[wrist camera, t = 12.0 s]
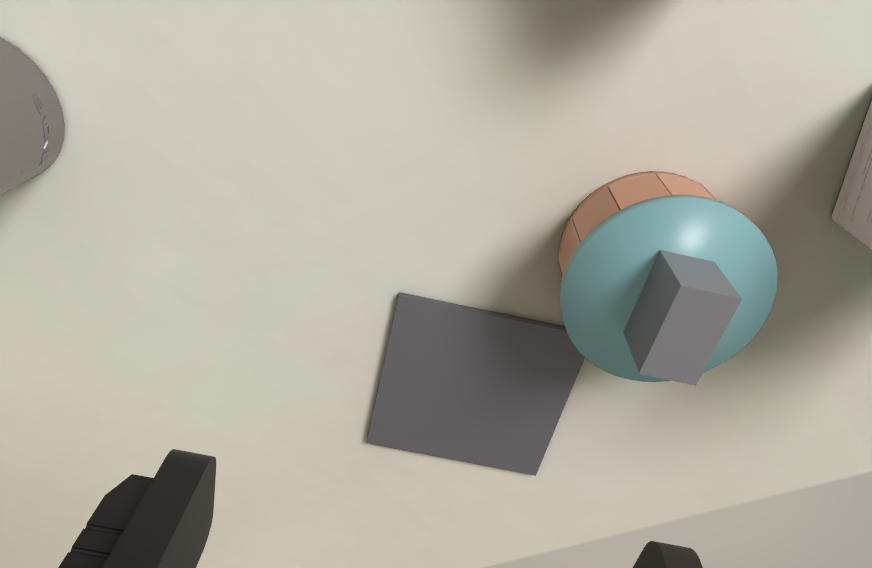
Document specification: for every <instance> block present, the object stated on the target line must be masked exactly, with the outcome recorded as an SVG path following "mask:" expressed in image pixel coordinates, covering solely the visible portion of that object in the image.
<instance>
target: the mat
mask: <svg viewBox="0 0 872 568" xmlns="http://www.w3.org/2000/svg"><path fill="white" fill-rule="evenodd" d="M584 358H585V357H584V356H583V355H582V354H581V353H580V352H579V351H578V349H577V348H576V347H575V345H574V344H573V343H572V341H571V339H570V337H569V335H568V333H567V331H566V328H565V327H562V326H557V325H552V324H548V323H543V322H538V321H533V320H529V319H524V318H519V317H514V316H510V315H505V314H500V313H495V312H490V311H486V310H481V309H476V308H471V307H467V306H462V305H457V304H452V303H448V302H443V301H438V300H433V299H429V298H424V297H419V296H414V295H409V294H405V293H400V292H399V296H398V301H397V305H396V310H395V314H394V319H393V324H392V328H391V333H390V337H389V342H388V346H387V351H386V356H385V360H384V365H383V369H382V374H381V378H380V383H379V388H378V392H377V397H376V401H375V406H374V410H373V415H372V420H371V424H370V429H369V433H368V438H367V443H370V444H375V445H380V446H385V447H390V448H396V449H401V450H406V451H411V452H416V453H421V454H427V455H432V456H437V457H442V458H447V459H452V460H458V461H463V462H468V463H473V464H478V465H484V466H489V467H494V468H499V469H504V470H509V471H515V472H520V473H525V474H530V475H535V476H536V474H537V471H538V469H539V467H540V464H541V462H542V459H543V457H544V454H545V452H546V450H547V447H548V445H549V442H550V440H551V437H552V435H553V433H554V430H555V428H556V425H557V423H558V421H559V418H560V416H561V413H562V411H563V408H564V406H565V404H566V401H567V399H568V396H569V394H570V391H571V389H572V387H573V384H574V382H575V379H576V377H577V375H578V372H579V370H580V367H581V365H582V362H583V360H584Z"/></svg>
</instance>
